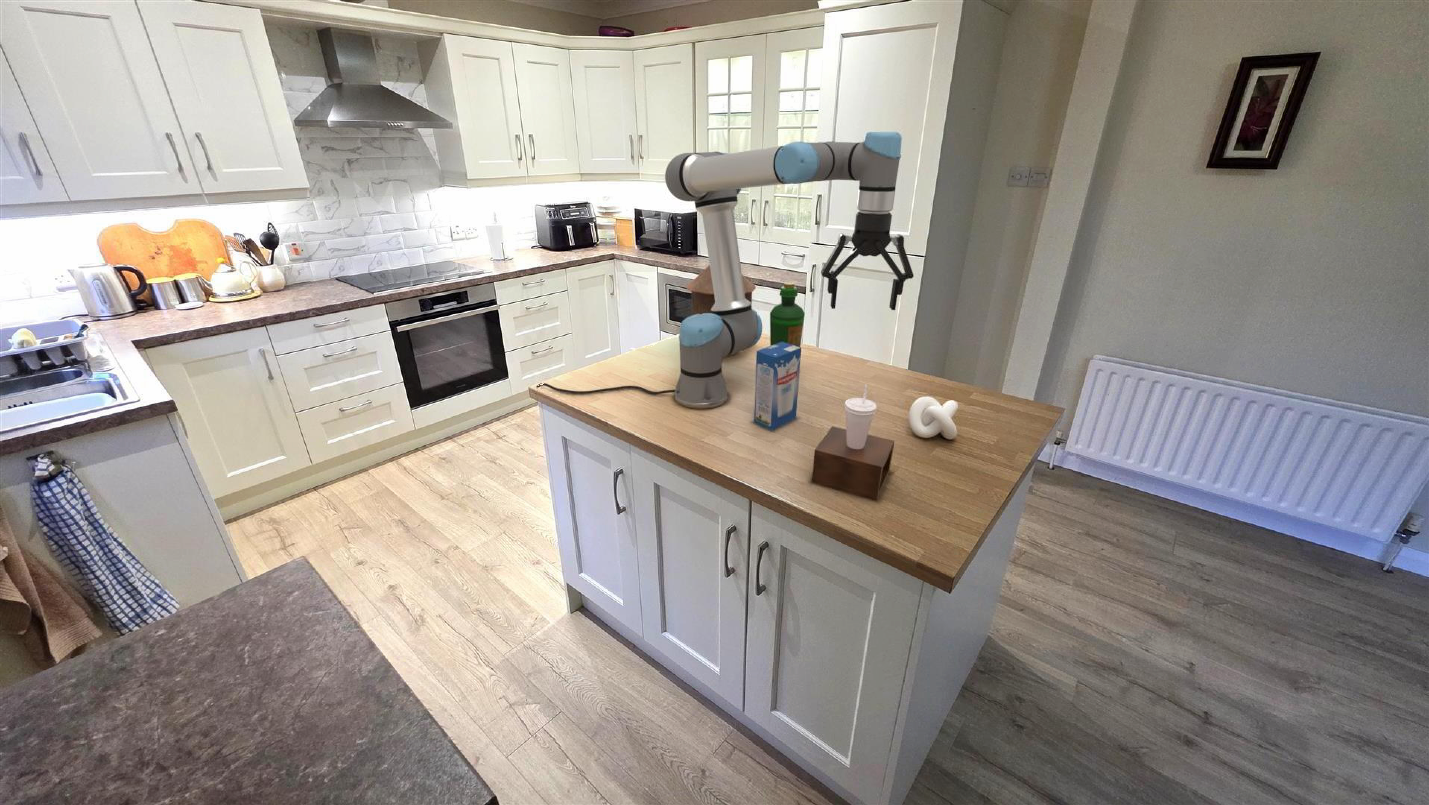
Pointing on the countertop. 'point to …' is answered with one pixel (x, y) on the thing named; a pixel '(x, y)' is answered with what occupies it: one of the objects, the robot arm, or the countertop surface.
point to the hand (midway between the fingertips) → (862, 308)
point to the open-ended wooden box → (852, 464)
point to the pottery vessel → (710, 292)
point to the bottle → (787, 318)
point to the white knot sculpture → (933, 418)
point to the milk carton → (776, 385)
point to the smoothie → (858, 420)
